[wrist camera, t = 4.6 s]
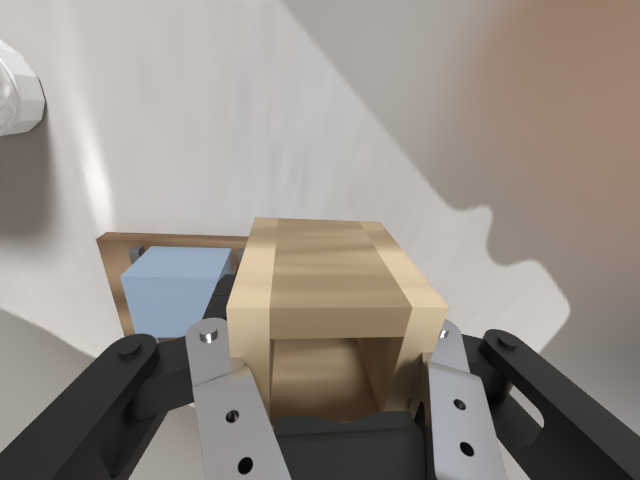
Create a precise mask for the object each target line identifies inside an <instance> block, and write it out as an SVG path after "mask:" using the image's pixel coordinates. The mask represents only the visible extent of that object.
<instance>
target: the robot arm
mask: <svg viewBox="0 0 640 480" xmlns="http://www.w3.org/2000/svg"><path fill="white" fill-rule="evenodd" d="M239 266H240V263H239V264H238V266H237V269H236V272H235V274H225V275H224V276H223V277H222V278H221V279H220V280H218V282H217V284H216V287H215V290H214V291H213V294H212V297H211V298H210V301H209V303H208V306H207V308H206V310H205V313H204V315H203V317H202V320H201V321H198V322H197V323H195V324H193V325H192V326H191V327H190V328H189V329H188V331H187V333H186V335H185V336H183V337H180V338H177V339H174V340H170V341H165V342H161V343H157V341H156V339H155V338H154V337H153V336H152V335H149V334H142V333H141V334H133V335H129V336H126V337H124V338H121V339H119V340H117V341H116V342H114V343H113V344H111V345H110V346H109V347H108V348H107V349H106V350H105V351H104V352H103V353H102V354H101V355H100V356H99V357H98V358H97V359H96V360H95V361H94V362H93V363H91V364H90V365H89V367H87V368H86V369H85V370H84V371H83V372H82V373H81V374H80V375H79V376H78V377H77V378H76V379H75V380H74V381H73V382H72V383H71V384H70V385H69V386H68V387H67V388H66V389H65V390H64V391H63V392H62V393H61V394H60V395H59V396H58V397H57V398H56V399H55V400H54V401H53V402H52V403H51V404H50V405H49V406H48V407H47V408H46V409H45V410H44V411H43V412H42V413H41V414H40V415H39V416H38V417H37V418H36V419H35V420H34V421H32V423H30V424H29V426H27V427H26V428H25V429H24V430H23V431H22V432H21V433H20V434H19V435H18V436H17V437H16V438H15V439H14V440H13V441H12V442H11V443H10V444H9V445H8V446H7V447H6V448H5V449H4V450H3V451H2V452H1V453H0V480H128V479H129V477H130V475H131V474H132V472H133V470H134V468H135V467H136V465H137V463H138V462H139V460H140V458H141V457H142V455H143V453H144V452H145V450H146V448H147V446H148V445H149V443H150V441H151V440H152V438H153V436H154V435H155V433H156V431H157V430H158V428H159V426H160V425H161V423H162V421H163V420H164V418H165V416H166V415H167V413H168V411H170V410H172V409H175V408H178V407H181V406H184V405H187V404H190V403H193V402H195V409H196V415H197V422H198V428H199V436H200V442H201V449H202V456H203V462H204V469H205V476H206V480H508V478H507V475H506V471H505V467H504V463H503V459H502V456H501V452H500V448H499V444H498V440H497V438H498V439H499V440H500V442H501V443H502V444H503V445H504V447H505V448H506V449H507V451H508V452H509V453H510V454H511V455H512V457H513V458H514V459H515V460H516V462H517V463H518V464H519V465H520V467H521V468H522V469H523V470H524V472H525V473H526V474H527V476H528V477H529V478H530V479H531V480H640V436H638V435H637V434H636V433H635V432H633V431H632V430H631V429H630V428H628V427H627V426H626V425H625V424H624V423H622V422H621V421H620V420H619V419H617V418H616V417H615V416H614V415H613V414H611V413H610V412H609V411H608V410H606V409H605V408H604V407H603V406H601V405H600V404H599V403H598V402H597V401H595V400H594V399H593V398H591V397H590V396H589V395H588V394H587V393H585V392H584V391H583V390H582V389H580V388H579V387H578V386H577V385H575V384H574V383H573V382H572V381H571V380H569V379H568V378H567V377H566V376H564V375H563V374H562V373H561V372H559V371H558V370H557V369H556V368H555V367H553V366H552V365H551V364H550V363H548V362H547V361H546V360H545V359H543V358H542V357H541V356H540V355H539V354H537V353H536V352H535V351H534V350H532V349H531V348H530V347H529V346H528V345H526V344H525V343H524V342H523V341H521V340H520V339H519V338H517V337H516V336H514V335H512V334H510V333H508V332H505V331H502V330H497V329H490V330H488V331H486V332H485V334H484V336H483V339H481V338H477V337H472V336H468V335H464V334H461V332H460V330H459V329H458V327H457V326H456V325H454V324H453V323H452V322H450V321H448V320H446V319H445V320H444V323H443V326H442V329H441V332H440V335H439V337H438V340H437V343H436V346H435V349H434V352H422V355H421V359H420V362H419V378H418V384H417V387H416V390H415V393H414V396H413V397H412V398H407V401H406V405H405V411H389V412H377V413H375V414H372V415H369V416H366V417H363V418H361V419H358V420H355V421H352V422H349V423H342V422H337V421H332V420H328V419H323V418H318V417H314V416H295V417H277V418H275V430H273V429H272V426H271V423H270V421H269V418H268V415H267V413H266V410H265V407H264V405H263V402H262V399H261V397H260V394H259V391H258V389H257V386H256V383H255V381H254V378H253V375H252V373H251V370H250V368H249V367H248V366H246V367H245V366H244V363H243V360H242V358H241V357H230V348H229V336H228V324H227V313H226V307H227V304H228V300H229V297H230V294H231V291H232V288H233V285H234V282H235V279H236V276H237V272H238V269H239ZM513 385H515V387H516V388H517V389H519V390H520V391H521V392H522V393H523V394H524V395H525V396H526V397H527V398H528V399H529V400H530V401H531V402H532V403H533V404H534V405H535V406H536V407H537V408H538V409H539V411H540V412H541V414H542V416H543V418H544V427H543V428H542V427H541V426H540V425H539V424H538V423H537V422H536V421H535V420H534V419H533V418H532V417H531V416H530V415H529V414H528V413H527V412H526V411H525V410H524V409H523V408H522V407H521V406H520V405H519V403H518V402H517V401H516V400H515V399H514V398H513V397H512V396H511V395H510V394H509V392H510V390H511V388H512V387H513Z"/></svg>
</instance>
